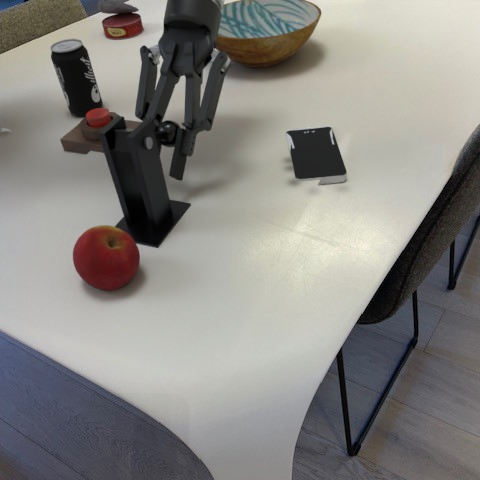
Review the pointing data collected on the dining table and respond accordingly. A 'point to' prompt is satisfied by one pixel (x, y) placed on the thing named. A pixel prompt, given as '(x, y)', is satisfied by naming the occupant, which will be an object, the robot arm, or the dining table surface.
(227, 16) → the bowl
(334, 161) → the smartphone
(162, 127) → the black ball lever
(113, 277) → the apple
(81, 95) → the beverage can
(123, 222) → the black lever stand
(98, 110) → the button
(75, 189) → the dining table surface
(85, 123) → the button block
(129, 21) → the canned food
